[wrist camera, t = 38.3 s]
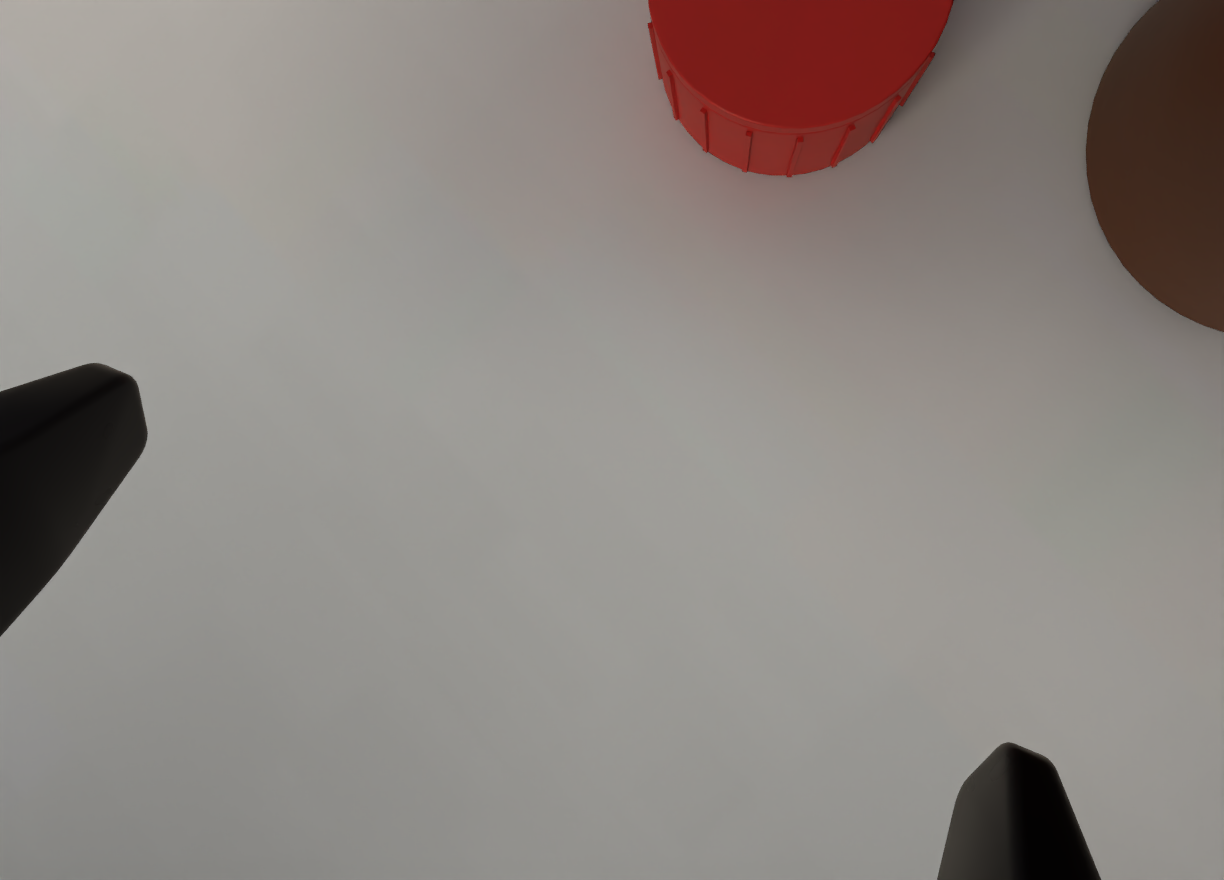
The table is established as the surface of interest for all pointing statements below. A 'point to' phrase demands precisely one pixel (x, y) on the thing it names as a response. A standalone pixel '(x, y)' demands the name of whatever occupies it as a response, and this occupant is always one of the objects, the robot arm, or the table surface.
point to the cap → (791, 74)
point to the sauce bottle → (1165, 156)
